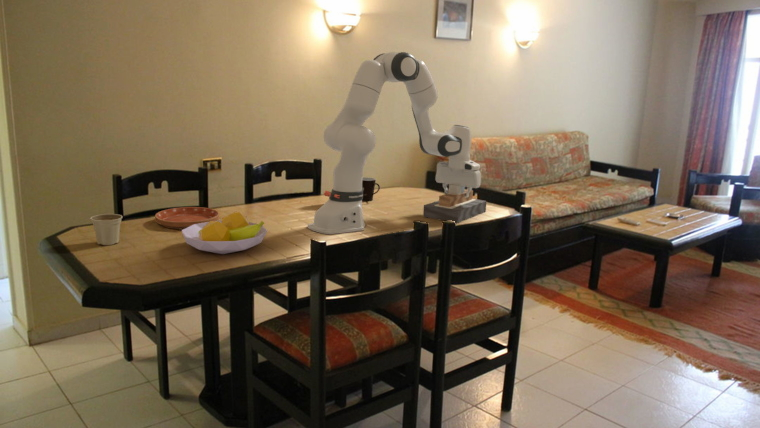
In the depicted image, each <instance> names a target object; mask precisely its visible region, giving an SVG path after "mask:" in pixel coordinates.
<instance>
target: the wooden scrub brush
mask: <svg viewBox="0 0 760 428" xmlns="http://www.w3.org/2000/svg"><path fill="white" fill-rule="evenodd" d="M467 191H468V190H467V188H465V192H464V193H467ZM464 193H461V194H459V195H453V194H445V193H444V194H440V195H439V196H438V197H439V198H438V201H439V205H440V206H446V207H451V206H454V205H457V204H460V203H463V202H466V201H469V200H472V199H474V198H473V197H474V195H473V194H474V190H473V189H472V190H471V192H470V193H469V197H464Z"/></svg>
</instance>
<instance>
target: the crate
mask: <svg viewBox="0 0 760 428" xmlns="http://www.w3.org/2000/svg"><path fill="white" fill-rule="evenodd" d="M461 188H462V186H460V185H455V184H448V190H449V191H448V194H453V195H459V194H461Z"/></svg>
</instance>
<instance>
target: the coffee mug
mask: <svg viewBox="0 0 760 428" xmlns="http://www.w3.org/2000/svg"><path fill="white" fill-rule="evenodd" d="M376 185H377V187H378V188H377V190H376V191H375V188H376V187H375V186H376ZM380 188H381V187H380V185H379V183H377V182H376V178H375V177H368V176H367V177H364V176H363V179H362V190H363V199H362V202H372V201H373V199H374V195H376V194H378V192H380Z"/></svg>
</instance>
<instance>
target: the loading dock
mask: <svg viewBox="0 0 760 428" xmlns="http://www.w3.org/2000/svg"><path fill="white" fill-rule="evenodd" d="M422 212H423V214H422V216H424V217H423V218H427V217H428V219H433V218H434V219H433V220H438V219H440V220H439V221H443V220H452V221H455V222H456V224H459V223H461V222H464V221H466V220H468V219H472V218H473V217H476V216H479V215H481V214H484V213H486V212H487V200H482V199H476V198H472V200H469V201H466V202H463V203H460V204H457V205H454V206H451V207H446V206H440V205H439V200H437V201H433V202H429V203H426V204H423V211H422Z"/></svg>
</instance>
